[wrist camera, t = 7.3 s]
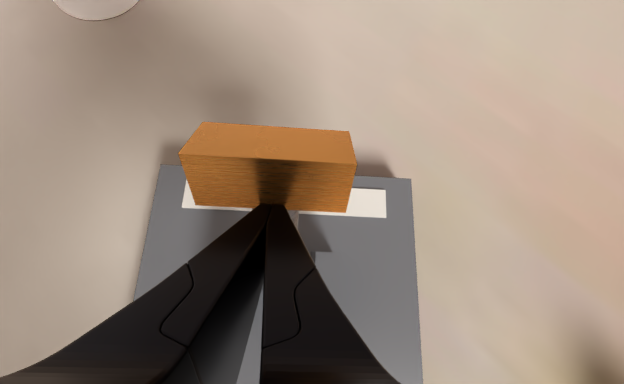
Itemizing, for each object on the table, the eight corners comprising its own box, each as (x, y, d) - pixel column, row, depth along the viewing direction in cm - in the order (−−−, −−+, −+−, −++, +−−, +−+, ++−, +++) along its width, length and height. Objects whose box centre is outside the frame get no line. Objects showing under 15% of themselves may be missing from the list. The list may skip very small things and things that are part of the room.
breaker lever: (320, 319, 14) (357, 163, 7) (233, 317, 14) (177, 153, 7) (320, 287, 16) (349, 131, 8) (241, 284, 15) (202, 122, 8)
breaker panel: (410, 419, 16) (467, 504, 11) (129, 416, 15) (38, 506, 10) (400, 185, 20) (437, 162, 14) (174, 173, 19) (126, 142, 14)
